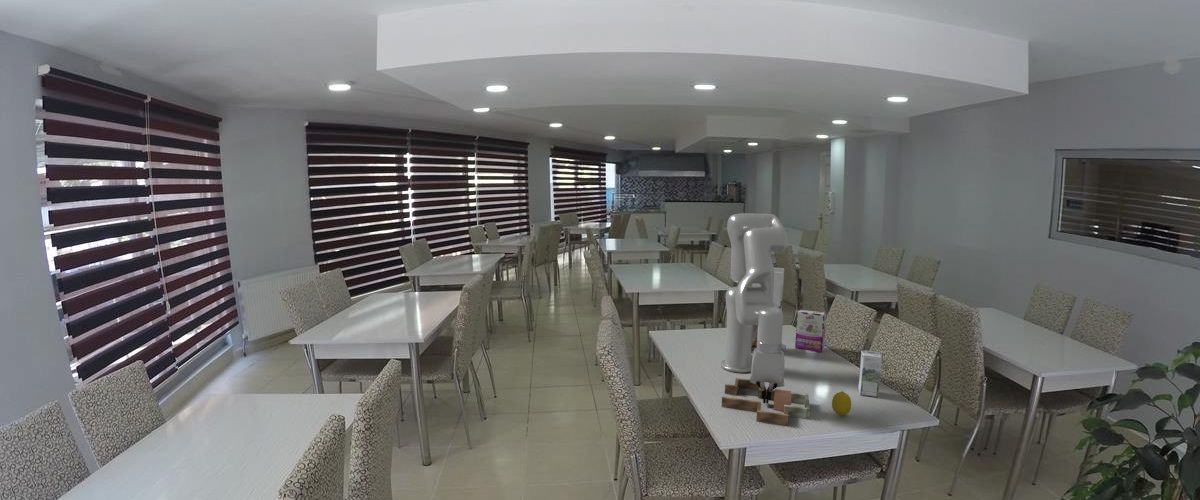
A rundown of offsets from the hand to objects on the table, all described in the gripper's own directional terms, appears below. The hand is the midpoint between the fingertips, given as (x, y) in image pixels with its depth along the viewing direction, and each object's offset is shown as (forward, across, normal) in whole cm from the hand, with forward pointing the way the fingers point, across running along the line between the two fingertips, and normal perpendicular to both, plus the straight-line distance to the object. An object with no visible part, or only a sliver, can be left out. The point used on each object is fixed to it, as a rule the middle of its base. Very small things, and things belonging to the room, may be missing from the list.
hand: (765, 401), depth 178 cm
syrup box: (+1, -33, -22) cm, 40 cm away
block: (+1, -5, 0) cm, 5 cm away
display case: (+1, +2, -56) cm, 56 cm away
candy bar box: (+1, -16, -66) cm, 68 cm away
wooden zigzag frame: (+1, 0, 0) cm, 1 cm away
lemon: (+1, -22, 0) cm, 22 cm away
